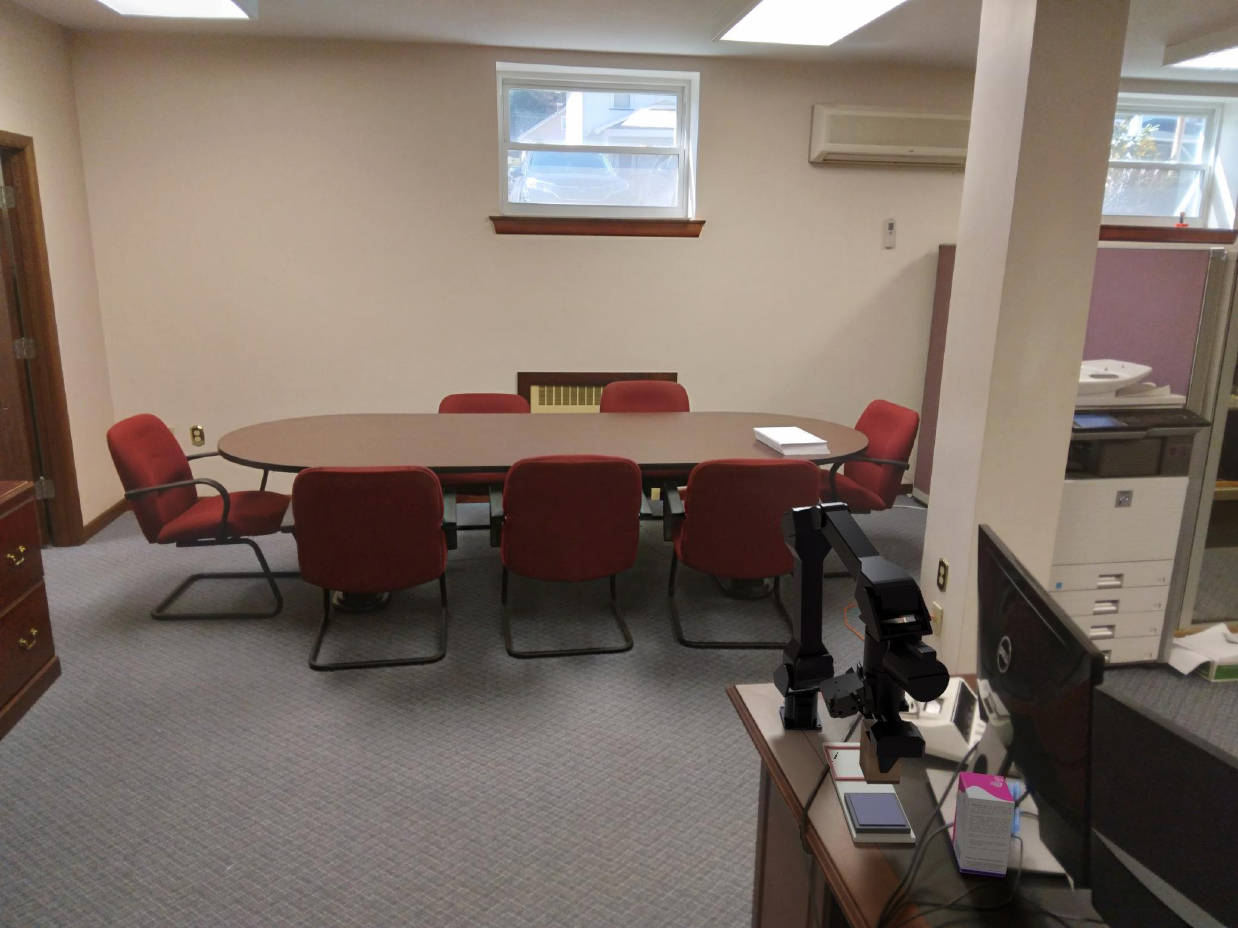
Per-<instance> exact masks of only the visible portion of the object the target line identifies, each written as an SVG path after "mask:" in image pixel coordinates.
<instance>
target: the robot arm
mask: <svg viewBox="0 0 1238 928" xmlns="http://www.w3.org/2000/svg"><path fill="white" fill-rule="evenodd" d="M780 525H781V531H782V534H783V540H784V541H783V542H784V544H786V546H787V547H788V550H789V551H790V552H791V555H792V557H793V597H792V598H793V602H792V603H793V605H792V607H793V608H792V609H793V611H792V616H793V617H792V637H791V638H790V640H789V642H788V643H787V645H786V646H785V647H784V648H783V651H782V662H781V664H780V665H779V666H778V667H777V668H776V669H775V670H774V671H773V672H772V676H773V677H772V679H773V684H774V686H775V688H776V689H777V690H778V692H779V693H780V695H782V697H783V698H784V702H783V703H784V705H781V706H779V711H780V716H781V720H782V724H783V727H784V729H785V730H822V729H823V723H822V721H821V717H820V714H819V712H818V711H819V709H818V707H819V693H821V696H822V699H823V702H824V703H825V706H826V709H827V712H828V715H829V717H830V718H833V719H838V718H839V719H841V720H842V719H845V718H848V717H849V718H850V717H852V716H856V715H857V714H858V713H859V714H861V715H862V716H863V719H874V720H875V721H876V723H875V724H874V725H872V726H871V727H870V731H865V732H866V734H867V737H868V739H869V741H870V743H871V744H872V746H873V749H874V751H875V753H876V755H877V757H878V765H879V771H880V773H888V772H889V771H890V770H891V768H892V767H893V766H894V764H895V763H896V762H897V760H898V759H899V758H902V759H903V758H905V759H906V758H908V759H909V758H910V759H912V758H915V759H916V758H923V757H924V756H925V755H926V746H927V743H926V740H925V738H924V736H923V735H922V733H921V731H920V729H919V727H918V726H917V725H915V724H914V723H913V721H911V720H909V721H907V720H904V719H902V718H901V717H902V716H901V715H900V713H909V712H910V705H909V703H908V701H907V699H906V693H907V695H908V696H910V697H911V698H912V699H913V700H915V701H916V702H919V703H929V702H933V701H936V700H938V699H939V698H940V697H941V696H942V695H943V694H945V692H946V690H947V688H948V686H949V684H950V679H951V678H950V677H951V675H950V674H949V670H948V667H947V666H946V665H945V664H944V663H943V662H942V661H941V660H940V659H938V658H937V657H938V654H937V651H936V650H935V649H934V648H933V647H932V646H929V645H927V644H926V643H925V642H924V641H923V637H924V636H932V635H933V634H934V633H933V627H932V624H931V622H932V621H933V619H932V617H931V615H930V611H929V609H928V606H927V604H926V602H925V599H924V597H923V593H922V590H921V587H920V585H919V584H918V583H917V582H916V580H915V578H914V577H913V576H911V575H910V574H909V573H908V571H906V570H905V569H904V568H903V567H902V566H900V565H899V564H896V563H894V562H892V561H889V560H887V559H885V558H884V557H883V555H881V553H880V551H878V550H877V548H876V546H875V545H874V543H872V541H871V540H870V539H869V536H868V535H867V534H866V533H865V532H864V530H863V529H862V528H861V526H860V525H859V524H858V522H857V521H856V519H855V518H854V517H853V515H852V512H851V508H850V507H849V505H848V504H847V503H844V502H842V501H836V502H835V501H834V502H824V503H818V504H816V505H808V506H798V507H796V506H795V507H789V508H788V509H787V510H786V511H785V512H784V513H783V515H782V516H781V521H780ZM832 549H833V551H834V552H835V554H836V555H837V557H838V558H839V559H840V561H841V562H842V563H843V565H844V567H845V568H846V569H847V571H848V573H849V574H850V576H851V577H852V579H853V581H854V584H855V585H854V591H853V596H854V599H855V601H856V603H857V605H858V606H857V607H858V608H859V611H860V614H859V615H858V618H859V620H860V621H861V622H863V624H864V625H865V626H864V638H863V639H864V640H863V642H864V643H863V657H862V659H863V660H859V661H858V663H856V666H855V665H853V666H850V667H849V668H848V669H847V670H846V671H845V673H843V674H840V675H837V676H835V667H834V662H835V661H834V657H833V655H832V654H830V652H829V650H828V649H827V647H826V645H825V644H824V643H823V625H824V624H823V622H824V621H823V620H824V618H823V616H824V571H825V569H824V567H825V566H824V565H825V564H824V563H825V559H826V558H827V556H829V554H830V552H831V550H832ZM904 618H914V619H915V620H911V621H905V622H903V621H902V622H899V621H898V620H897V619H904Z"/></svg>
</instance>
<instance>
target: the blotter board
mask: <svg viewBox="0 0 1238 928" xmlns="http://www.w3.org/2000/svg"><path fill="white" fill-rule="evenodd" d="M821 747H822V750H823V753H824V756H825V759H826V762H827V765H828V764H829V765H830V769H829V772H830V774H831V777H832V781H833V783H834V786H835V789H836V792H837V795H838V798H839V801H840V804H841V808H842V811H843V813H844V816H845V819H846V822H847V826H848V828H849V832H850V834H851V838H852V841H853V843H908V844H909V843H912V844H913V843H916V840H917V837H916V835H915V833H914V830H913V828H912V827H911V824H910V822H909V819H908V817H907V815H906V813H905V811H904V808H903V806H902V804H901V800H900V799H899V797H898V795H897V793H896V792H897V791H896V789H895V788H894V786H893V785H894V784H867V783H866V780H865V778H864V775H863V773H862V770H861V768H860V765H859V757H860V742H822V745H821ZM837 752H838V754H837ZM836 754H837V757H836V759H834V757H835V755H836ZM832 761H833V762H832Z"/></svg>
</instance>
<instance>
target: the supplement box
mask: <svg viewBox="0 0 1238 928" xmlns="http://www.w3.org/2000/svg"><path fill="white" fill-rule="evenodd" d="M956 793H957V794H956V803H955V811H954V819H953V828H952V835H951V836H952V837H951V845H952V849H953V853H954V856H955V860H956V863H957V867H958V870H959V872H960V873H966V874H974V875H975V874H976V875H984V876H991V877H998V878H1005V877H1006V876H1007V868H1008V867H1007V866H1008V861H1009V860H1008V859H1009V852H1010V846H1011V845H1010V844H1011V838H1012V830H1013V823H1014V822H1013V821H1014V812H1015V804H1016V803H1015V800H1014V797H1013V796H1012V793H1011V790H1010V789H1009V786H1008V784H1007V782H1006V780H1005V777H1004V776H1002V775H995V774H994V775H993V774H986V773H985V774H982V773H975V772H968V771H967V772H966V771H959V775H958V783H957V792H956Z"/></svg>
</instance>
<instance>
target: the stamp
mask: <svg viewBox="0 0 1238 928" xmlns="http://www.w3.org/2000/svg"><path fill="white" fill-rule="evenodd" d="M875 723H876V721H875V720H874V719H864V718H861V722H860V738H859V739H860V742H859V743H860V757H859V765H860V768H861V770H862V773H863V775H864V778H865V780H866V783H867V784H892V785H900V783H901V770H902V759H903V758H899V759H898V760H897V762H896V763H895V764H894V766H893V767H892V768H891V770H890V771H889V772H888V773H880V771H879V765H878V757H877V755H876V753H875V751H874V749H873V746H872V744H871V743H870V741H869V739H868V737H867V734H866V732H865V731H870V727H871V726H872V725H874V724H875Z"/></svg>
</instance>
